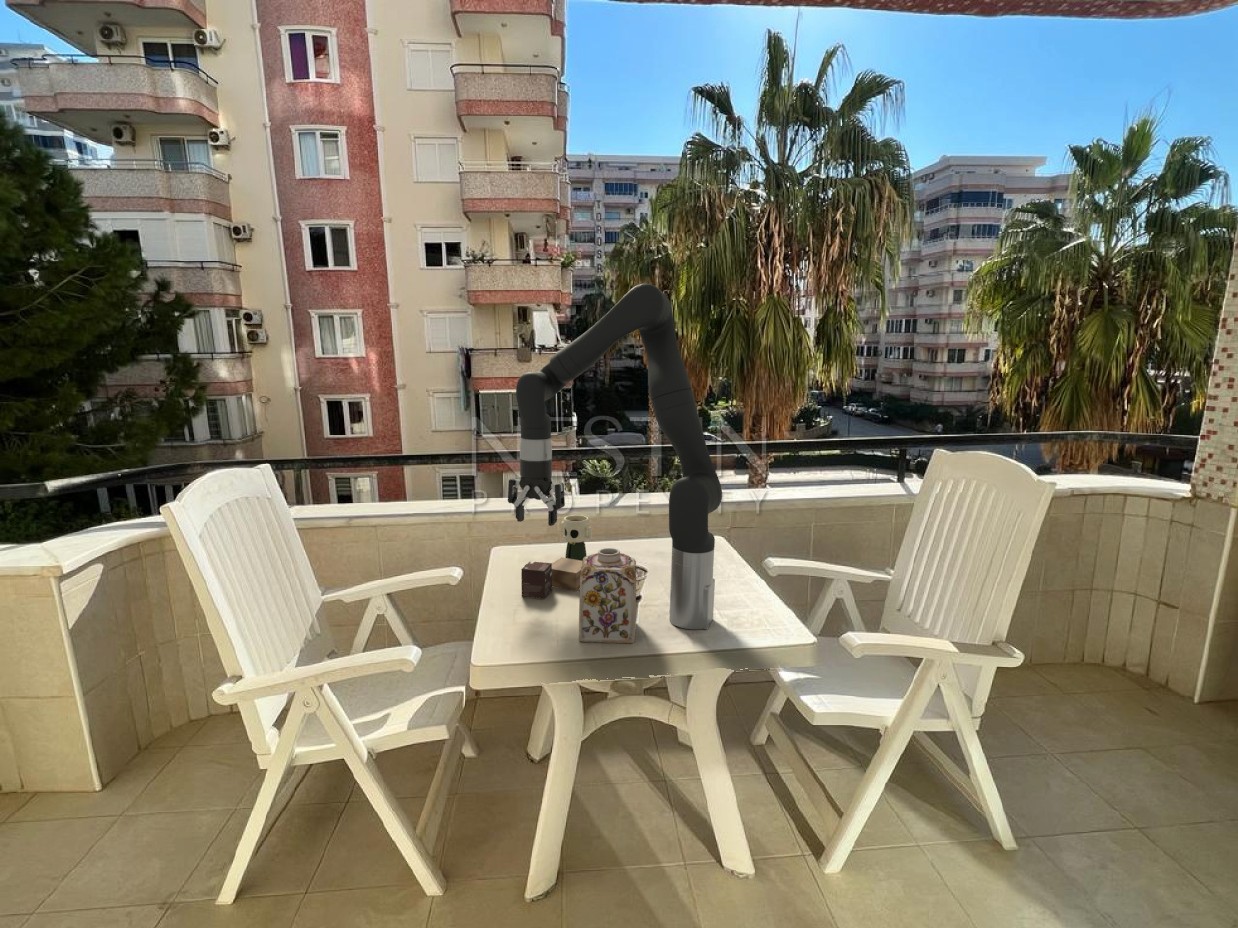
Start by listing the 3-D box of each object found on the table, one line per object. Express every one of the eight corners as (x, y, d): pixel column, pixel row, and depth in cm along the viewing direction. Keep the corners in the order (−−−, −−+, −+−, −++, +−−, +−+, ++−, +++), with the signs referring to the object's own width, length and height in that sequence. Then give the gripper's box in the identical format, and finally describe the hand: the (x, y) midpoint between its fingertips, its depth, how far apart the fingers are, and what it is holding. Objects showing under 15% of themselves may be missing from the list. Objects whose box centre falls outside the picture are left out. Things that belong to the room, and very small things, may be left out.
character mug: (553, 561, 170) (553, 517, 168) (569, 555, 176) (569, 512, 174) (583, 569, 164) (583, 524, 162) (598, 562, 170) (599, 518, 168)
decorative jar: (635, 644, 121) (637, 560, 118) (578, 643, 121) (578, 559, 118) (634, 619, 133) (636, 542, 130) (582, 618, 133) (583, 541, 130)
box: (544, 600, 143) (544, 571, 142) (520, 597, 144) (520, 568, 143) (552, 590, 149) (552, 562, 148) (529, 588, 150) (529, 560, 149)
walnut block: (591, 580, 157) (591, 562, 156) (576, 592, 149) (576, 573, 148) (561, 575, 160) (561, 557, 159) (544, 586, 152) (544, 567, 151)
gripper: (570, 457, 142) (569, 522, 145) (518, 452, 147) (518, 515, 150) (555, 461, 135) (555, 530, 138) (501, 456, 140) (502, 523, 143)
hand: (536, 522), depth 144 cm, fingers open, 8 cm apart
